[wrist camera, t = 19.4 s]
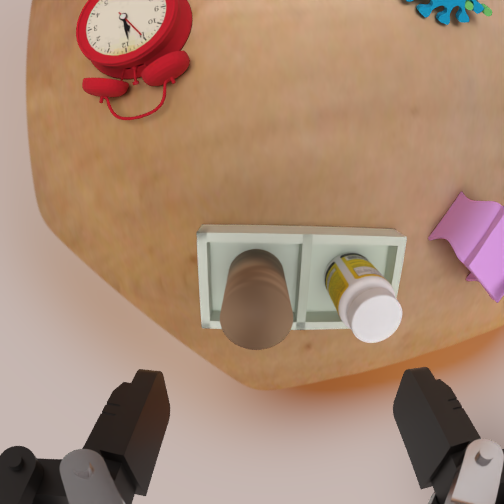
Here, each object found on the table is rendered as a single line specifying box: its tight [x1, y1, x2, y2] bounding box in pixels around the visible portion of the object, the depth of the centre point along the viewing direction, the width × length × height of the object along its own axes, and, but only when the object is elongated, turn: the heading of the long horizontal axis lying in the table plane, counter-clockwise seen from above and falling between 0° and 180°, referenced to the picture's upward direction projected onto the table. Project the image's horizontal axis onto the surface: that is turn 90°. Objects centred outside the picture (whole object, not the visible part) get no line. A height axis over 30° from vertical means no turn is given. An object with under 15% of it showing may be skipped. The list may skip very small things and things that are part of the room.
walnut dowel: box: [220, 249, 293, 350], centre depth 25 cm, size 5×5×8 cm
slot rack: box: [197, 224, 407, 330], centre depth 29 cm, size 18×9×3 cm, turn 89°
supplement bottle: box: [324, 252, 402, 343], centre depth 25 cm, size 5×5×8 cm
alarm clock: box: [76, 0, 192, 120], centre depth 21 cm, size 10×6×15 cm
